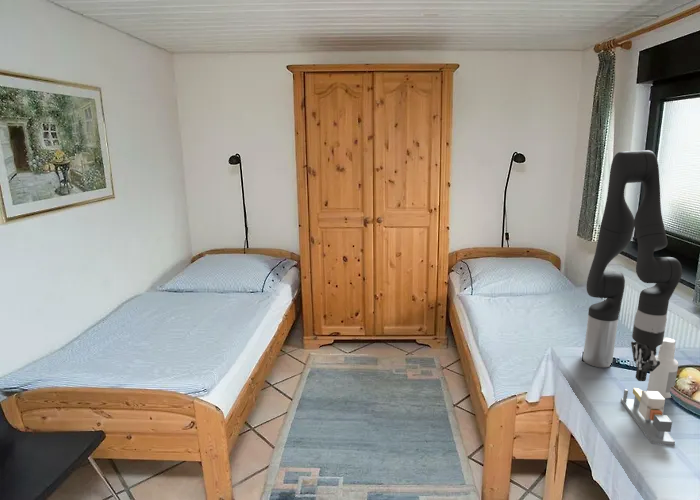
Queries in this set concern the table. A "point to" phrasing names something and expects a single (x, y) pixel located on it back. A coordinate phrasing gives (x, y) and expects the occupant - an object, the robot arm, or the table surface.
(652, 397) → the sleeve
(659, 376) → the white bottle
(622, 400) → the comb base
